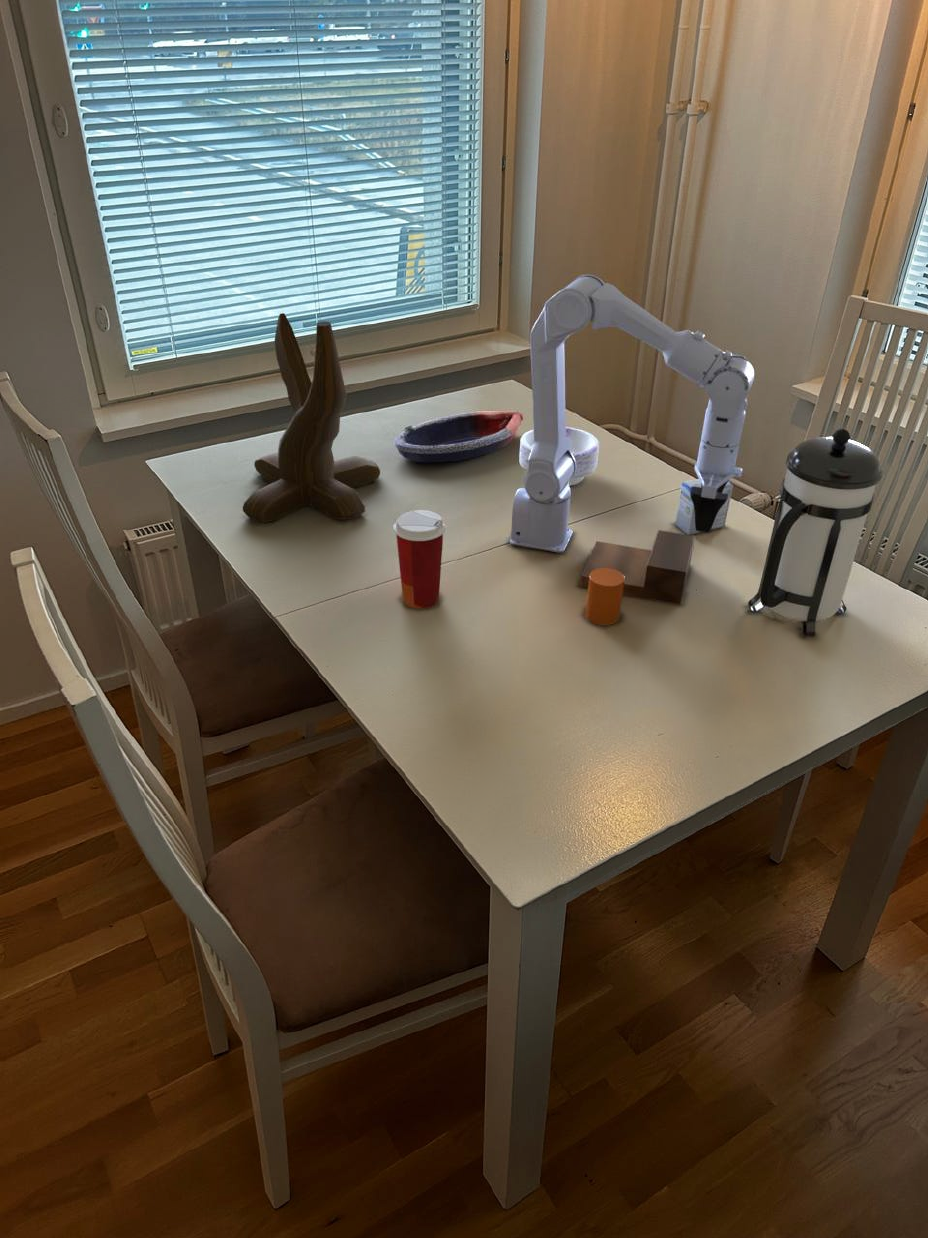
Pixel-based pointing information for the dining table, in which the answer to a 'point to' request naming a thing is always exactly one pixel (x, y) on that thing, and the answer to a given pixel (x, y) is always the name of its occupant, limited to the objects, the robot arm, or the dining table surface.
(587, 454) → the paper bowls
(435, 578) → the paper cup
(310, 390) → the wooden stand
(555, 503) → the robot arm
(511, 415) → the dish
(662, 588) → the shelf riser
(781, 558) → the coffee press
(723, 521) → the medicine box
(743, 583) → the dining table surface
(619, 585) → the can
